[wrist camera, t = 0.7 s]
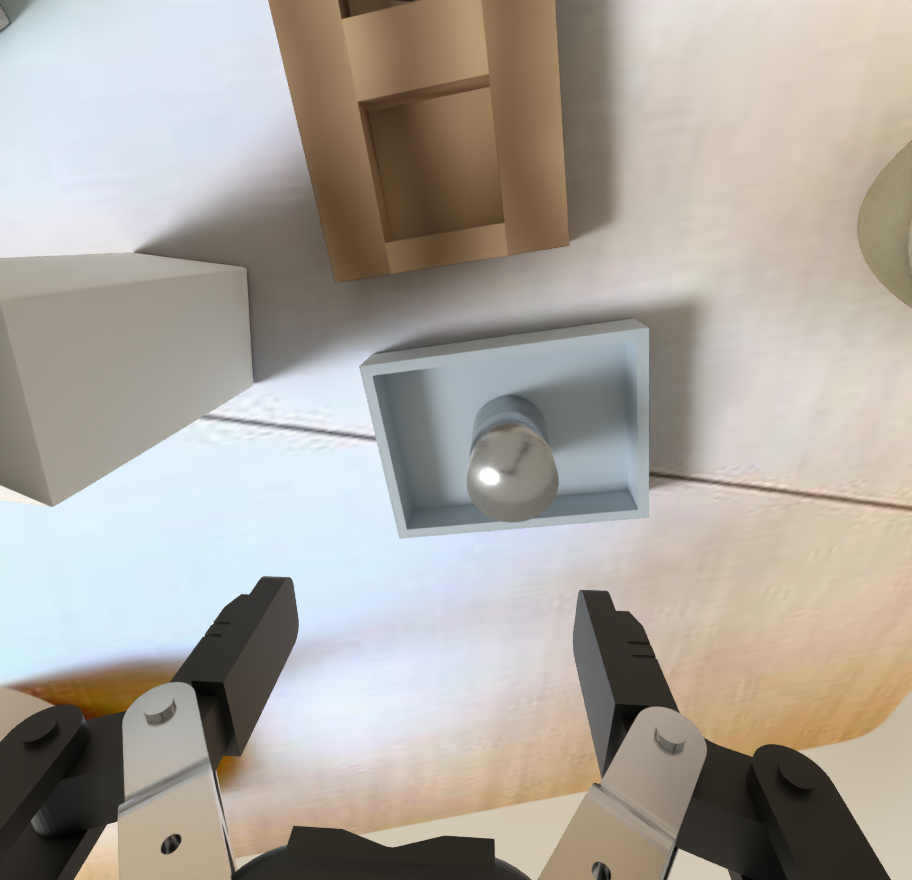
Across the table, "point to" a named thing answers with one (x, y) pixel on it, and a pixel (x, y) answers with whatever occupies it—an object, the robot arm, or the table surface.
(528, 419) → the cylinder
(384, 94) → the wooden shaker holder
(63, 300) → the milk carton
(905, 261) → the flower pot
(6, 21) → the coffee box
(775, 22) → the table surface
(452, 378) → the tote
